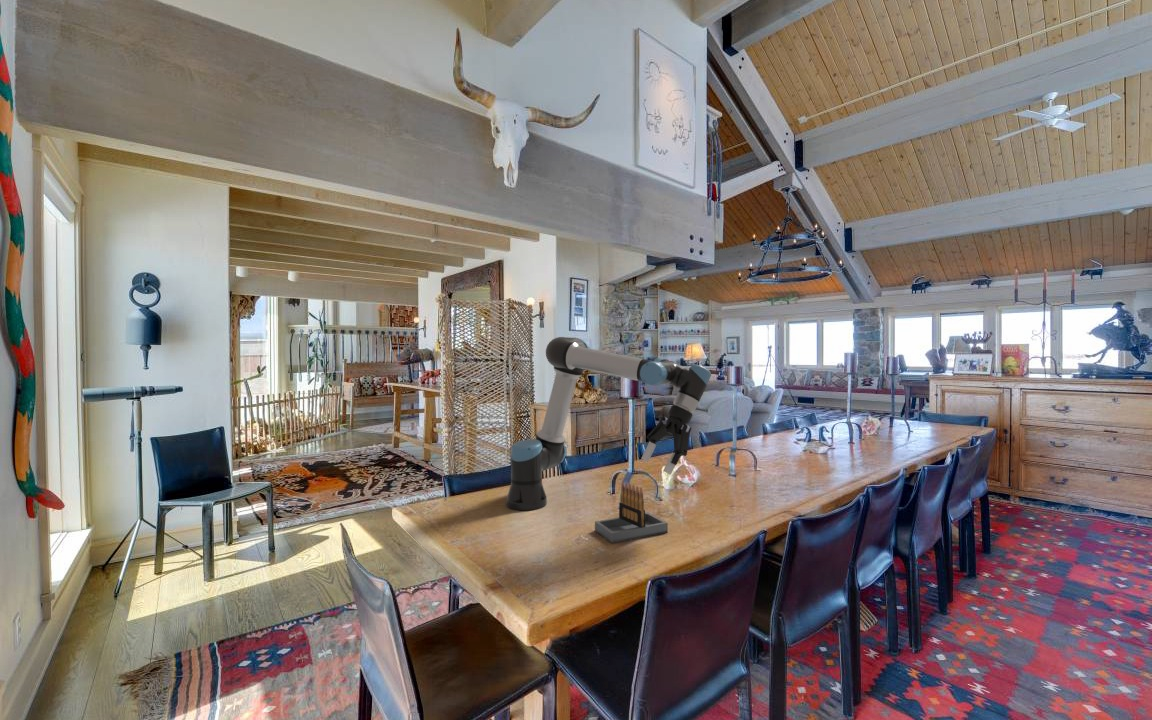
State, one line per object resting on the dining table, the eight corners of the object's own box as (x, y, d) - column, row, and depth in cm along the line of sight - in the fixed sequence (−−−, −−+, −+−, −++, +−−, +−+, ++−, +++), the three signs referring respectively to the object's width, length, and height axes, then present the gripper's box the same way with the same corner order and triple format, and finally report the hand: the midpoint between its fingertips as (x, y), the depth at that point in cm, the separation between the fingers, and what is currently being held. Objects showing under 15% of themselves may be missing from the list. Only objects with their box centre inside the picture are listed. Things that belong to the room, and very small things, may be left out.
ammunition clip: (618, 517, 148) (618, 481, 148) (623, 516, 150) (623, 480, 149) (641, 528, 140) (640, 488, 140) (645, 526, 141) (645, 487, 141)
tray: (594, 530, 145) (594, 521, 145) (648, 521, 154) (647, 512, 154) (611, 543, 135) (611, 533, 135) (667, 532, 144) (667, 522, 144)
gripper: (715, 421, 144) (686, 482, 142) (669, 406, 167) (644, 459, 165) (698, 411, 141) (668, 474, 139) (654, 397, 164) (628, 451, 162)
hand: (655, 466), depth 152 cm, fingers open, 13 cm apart
